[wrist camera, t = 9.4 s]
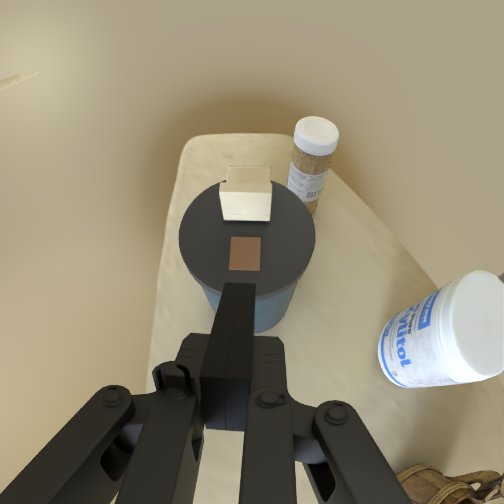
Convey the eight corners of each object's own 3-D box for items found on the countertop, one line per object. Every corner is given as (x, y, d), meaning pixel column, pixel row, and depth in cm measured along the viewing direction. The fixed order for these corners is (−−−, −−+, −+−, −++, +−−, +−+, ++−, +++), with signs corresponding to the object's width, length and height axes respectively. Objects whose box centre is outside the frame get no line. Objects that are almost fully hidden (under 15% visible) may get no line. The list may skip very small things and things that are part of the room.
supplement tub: (371, 315, 33) (438, 266, 20) (433, 309, 33) (507, 263, 20) (377, 395, 29) (456, 391, 16) (441, 382, 29) (526, 364, 16)
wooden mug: (467, 475, 22) (562, 488, 6) (387, 535, 20) (465, 592, 4) (452, 430, 26) (559, 429, 10) (367, 492, 23) (454, 548, 7)
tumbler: (291, 337, 32) (319, 298, 19) (205, 333, 33) (168, 292, 19) (291, 258, 36) (311, 178, 23) (212, 256, 37) (188, 175, 23)
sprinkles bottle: (310, 188, 41) (330, 113, 29) (320, 215, 39) (347, 141, 27) (279, 192, 41) (290, 115, 28) (288, 220, 39) (303, 144, 27)
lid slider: (269, 221, 21) (272, 193, 18) (223, 220, 21) (218, 192, 18) (270, 173, 23) (272, 142, 20) (228, 172, 23) (225, 142, 20)
